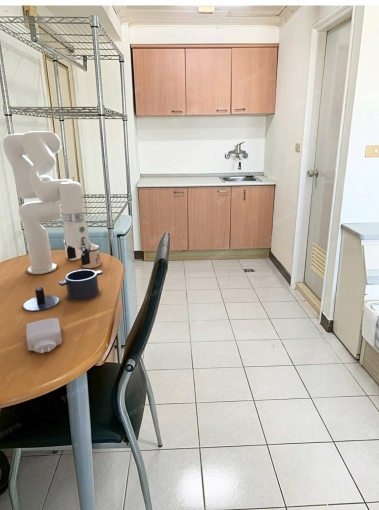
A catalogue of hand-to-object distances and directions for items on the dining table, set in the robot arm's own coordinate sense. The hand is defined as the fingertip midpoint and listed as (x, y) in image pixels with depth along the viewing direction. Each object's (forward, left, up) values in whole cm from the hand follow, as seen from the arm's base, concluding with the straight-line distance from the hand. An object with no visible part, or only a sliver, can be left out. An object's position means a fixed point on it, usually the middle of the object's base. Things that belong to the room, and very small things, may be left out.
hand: (78, 261), depth 130 cm
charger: (+25, -24, -14) cm, 37 cm away
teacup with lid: (-30, +19, -14) cm, 38 cm away
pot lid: (-3, -15, -13) cm, 20 cm away
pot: (0, 0, -14) cm, 14 cm away
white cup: (-45, +17, -14) cm, 50 cm away
